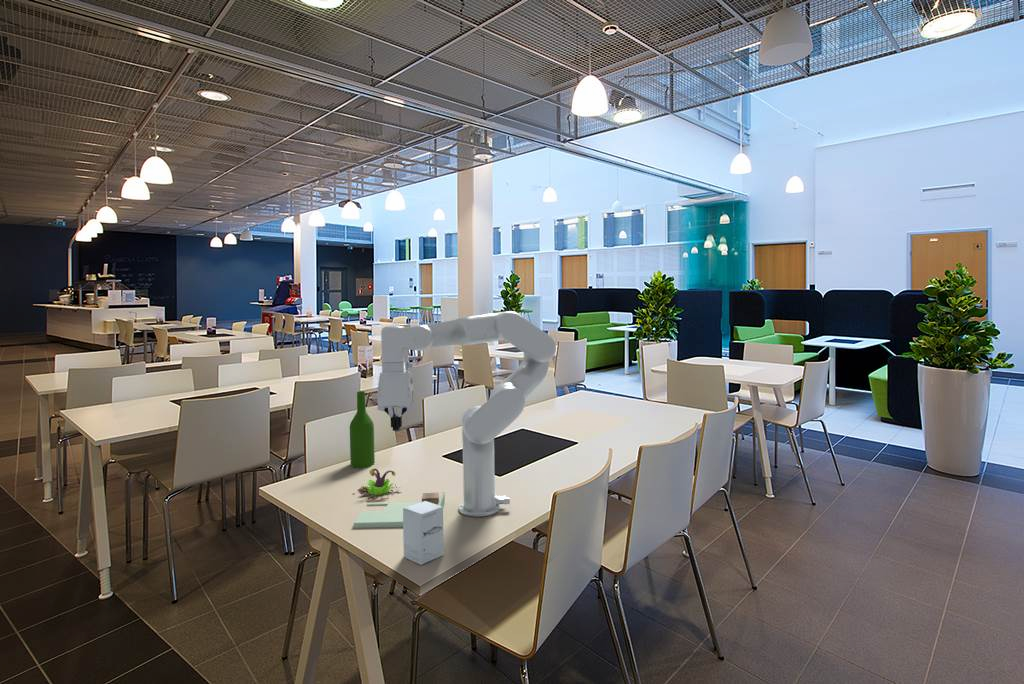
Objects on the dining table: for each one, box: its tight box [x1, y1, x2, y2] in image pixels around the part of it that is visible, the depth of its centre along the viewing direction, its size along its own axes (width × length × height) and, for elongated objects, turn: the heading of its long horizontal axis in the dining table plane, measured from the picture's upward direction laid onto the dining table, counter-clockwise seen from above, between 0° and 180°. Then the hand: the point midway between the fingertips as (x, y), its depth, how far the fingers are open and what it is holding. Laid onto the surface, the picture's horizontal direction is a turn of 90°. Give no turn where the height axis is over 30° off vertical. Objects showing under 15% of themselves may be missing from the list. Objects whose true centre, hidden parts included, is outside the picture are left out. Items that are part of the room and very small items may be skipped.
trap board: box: [353, 491, 446, 529], centre depth 157 cm, size 24×16×6 cm, turn 92°
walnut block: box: [421, 492, 440, 505], centre depth 162 cm, size 5×5×3 cm
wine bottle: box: [349, 390, 376, 469], centre depth 203 cm, size 9×9×32 cm
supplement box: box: [402, 501, 445, 566], centre depth 132 cm, size 7×7×13 cm
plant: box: [351, 468, 403, 504], centre depth 176 cm, size 20×20×11 cm
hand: (396, 429), depth 156 cm, fingers closed
